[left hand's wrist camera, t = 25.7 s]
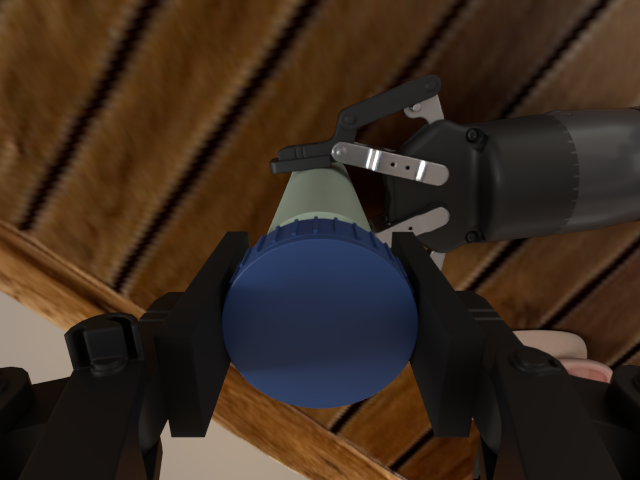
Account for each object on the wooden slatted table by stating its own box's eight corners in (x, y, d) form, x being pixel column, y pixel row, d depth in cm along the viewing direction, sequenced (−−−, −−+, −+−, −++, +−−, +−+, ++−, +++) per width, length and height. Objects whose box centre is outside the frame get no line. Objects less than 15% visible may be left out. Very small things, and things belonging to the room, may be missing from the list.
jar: (328, 222, 31) (340, 370, 14) (279, 192, 31) (225, 310, 13) (360, 174, 30) (418, 271, 12) (310, 141, 29) (296, 196, 12)
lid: (443, 276, 12) (464, 306, 10) (341, 395, 13) (344, 438, 11) (293, 178, 10) (287, 193, 9) (201, 320, 12) (182, 355, 10)
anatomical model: (443, 450, 34) (478, 344, 30) (430, 416, 38) (461, 318, 34) (582, 465, 35) (634, 363, 31) (557, 430, 39) (600, 335, 35)
